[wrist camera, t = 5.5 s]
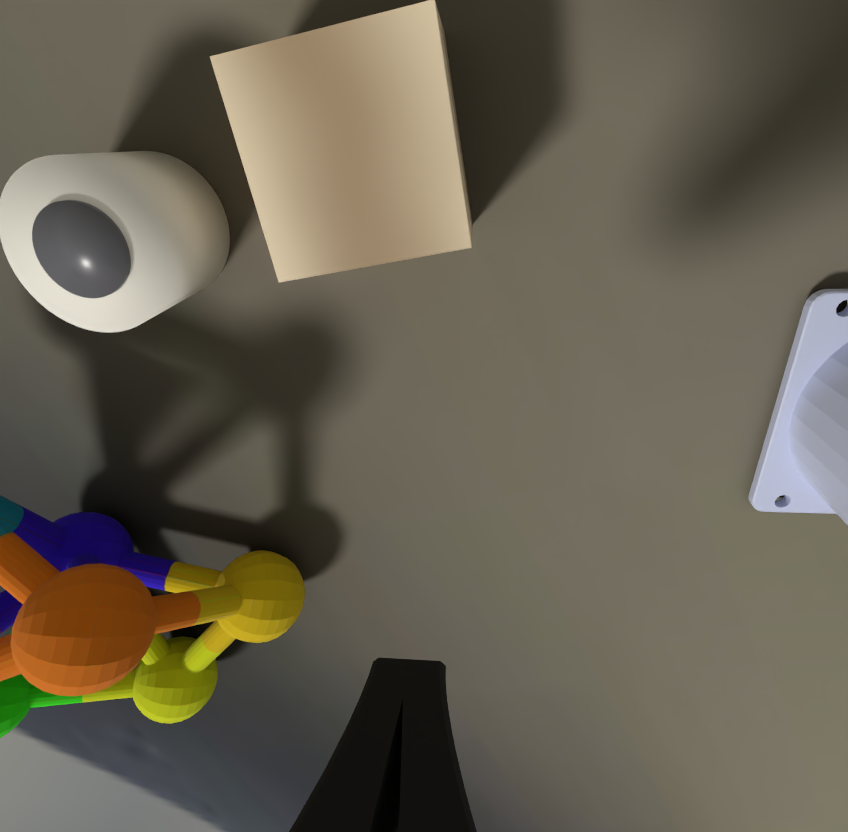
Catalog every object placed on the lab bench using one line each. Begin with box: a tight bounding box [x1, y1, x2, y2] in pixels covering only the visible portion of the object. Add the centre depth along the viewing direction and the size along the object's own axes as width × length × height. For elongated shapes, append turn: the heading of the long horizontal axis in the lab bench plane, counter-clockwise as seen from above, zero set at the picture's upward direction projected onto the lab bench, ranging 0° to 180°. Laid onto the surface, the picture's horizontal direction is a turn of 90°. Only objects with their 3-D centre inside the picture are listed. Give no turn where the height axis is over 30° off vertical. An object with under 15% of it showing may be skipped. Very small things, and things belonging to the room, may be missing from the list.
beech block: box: [210, 0, 473, 282], centre depth 15 cm, size 5×5×4 cm
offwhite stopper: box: [0, 151, 230, 333], centre depth 16 cm, size 4×4×4 cm
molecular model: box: [0, 495, 305, 738], centre depth 21 cm, size 15×10×15 cm
